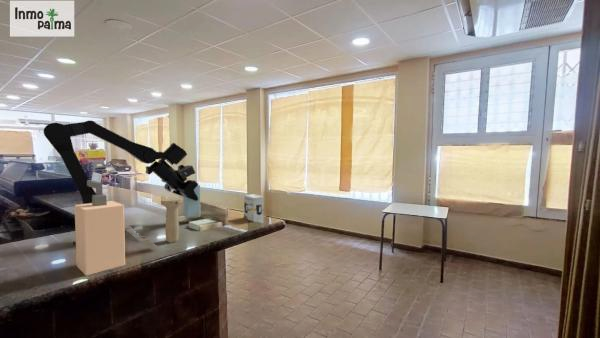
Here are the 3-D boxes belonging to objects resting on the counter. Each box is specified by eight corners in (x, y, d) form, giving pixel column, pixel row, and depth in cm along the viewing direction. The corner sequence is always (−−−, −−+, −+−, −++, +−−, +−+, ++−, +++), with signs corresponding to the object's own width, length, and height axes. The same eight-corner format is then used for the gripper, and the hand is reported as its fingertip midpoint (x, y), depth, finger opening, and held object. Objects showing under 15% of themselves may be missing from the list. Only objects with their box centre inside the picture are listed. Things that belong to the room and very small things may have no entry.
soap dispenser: (125, 265, 74) (123, 183, 72) (85, 275, 67) (83, 185, 66) (109, 253, 82) (107, 179, 80) (72, 261, 75) (69, 181, 74)
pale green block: (197, 230, 102) (197, 224, 101) (189, 227, 105) (189, 222, 105) (216, 225, 108) (216, 220, 108) (207, 223, 112) (207, 218, 111)
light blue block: (187, 217, 110) (187, 186, 109) (183, 215, 113) (183, 185, 112) (199, 215, 114) (199, 185, 113) (195, 213, 116) (195, 184, 116)
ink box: (243, 221, 122) (243, 194, 121) (252, 219, 125) (252, 193, 124) (253, 225, 115) (254, 197, 115) (263, 223, 119) (263, 196, 118)
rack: (200, 234, 101) (200, 213, 101) (176, 223, 115) (176, 204, 115) (228, 228, 110) (228, 208, 109) (202, 219, 124) (202, 201, 123)
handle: (158, 246, 88) (158, 200, 87) (177, 241, 93) (176, 197, 92) (167, 249, 85) (166, 201, 84) (185, 244, 91) (185, 198, 90)
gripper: (192, 159, 102) (219, 186, 111) (172, 157, 115) (197, 182, 124) (171, 181, 97) (200, 208, 106) (152, 177, 110) (179, 202, 119)
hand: (194, 199), depth 114 cm, fingers closed on light blue block, 4 cm apart
